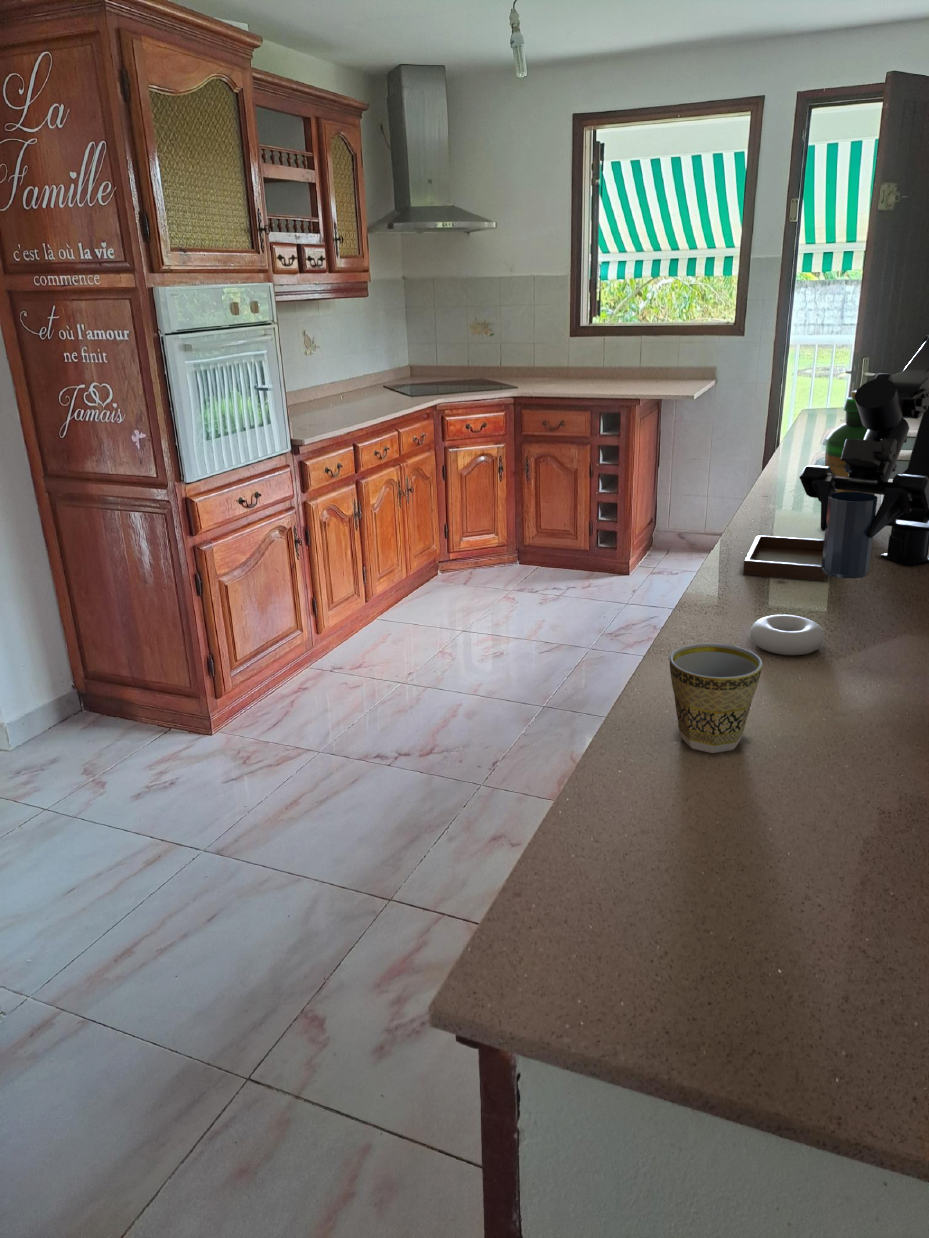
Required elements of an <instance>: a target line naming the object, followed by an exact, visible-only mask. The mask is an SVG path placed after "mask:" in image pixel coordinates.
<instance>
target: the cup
mask: <svg viewBox="0 0 929 1238" xmlns="http://www.w3.org/2000/svg"><path fill="white" fill-rule="evenodd" d="M877 506H878V496H877V495H876V494H875V495H873V494H869V493H862V492H837V493H832V494H830V495H829V498H828V508H827V518H826V527H825V531H824V537H823V540H824V547H823V557H822V569H821V571H822V572H823V573H824V574H826V576H829V577H833V578H837V579H838V578H839V579H860V578H864V577H867V576H868V575H869V572H870V563H871V556H872V548H873V547H872V546H873V538H874V536H873V537H872V538H869V536H868V532H869V529H870V526H871V524H872V522H873V520H874V518H875V516H876V514H877Z"/></svg>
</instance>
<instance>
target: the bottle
mask: <svg viewBox="0 0 929 1238" xmlns="http://www.w3.org/2000/svg"><path fill="white" fill-rule="evenodd" d="M856 391H857V389H855V390H851V391H850V393H851V394H850V395H851V396H849V397H847V398H846V399H845V403H844V406H843V409H842V410H843V411H844V412H845V423H842V424H841V425H839V426H837V427H836V428H834V429H833V430H831V432H830V433H829V434H828V435H827V437H826V438H825V452H824V453H825V454H824V456H825V458H824V459H825V460H824V466H827V467H830V468H831V471H832V473H833V474H834V475H835V476H841V477H848V475H849V472H845V469H844V467H845V464H846V462H844V461H841V456H842V452H843V448H844V445H845V441H846V439H859V440H864V437H865V435H866V432H867V430H868V429H867V428H865V427H864V426H863V424H862V421H861V418H860V414H859V411H858V408H857V404H856V401H855V393H856ZM837 492H854V491H849V490H840V489H838V490H837ZM837 492H835V493H837ZM869 494H871V493H869ZM873 495H875V496H876V494H873Z"/></svg>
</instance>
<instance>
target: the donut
mask: <svg viewBox="0 0 929 1238" xmlns="http://www.w3.org/2000/svg"><path fill="white" fill-rule="evenodd" d="M749 634H750V637H751V640H752V642H753V643H754V644H755V645H756V646H757V647H758V648H759V649H762V650H763V651H766V652H768V653H772V654H776V655H782V656H801V655H802V656H803V655H808V654H811V653H814V652H815V651H817V650H818V649H819V648H821V647H822V645H823V643H824V640H825V632H824V631H823V629H822V627H821V626H820V625H819V624H818V623H817V622H815V621H813V620H811V619H809V618H806V617H803V616H798V615H793V614H773V615H767V616H763V617H761V618H759V619H757V620H756V621H755V622H754V623H753V624H752V626H751V628H750V631H749Z"/></svg>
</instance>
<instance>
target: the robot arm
mask: <svg viewBox="0 0 929 1238" xmlns="http://www.w3.org/2000/svg"><path fill="white" fill-rule="evenodd" d="M856 390H857V391H856ZM856 390H855V391H856V393H855V401H856V404H857V408H858V411H859V414H860V418H861V421H862V424H863V426H864V427H865V428H867V429H868V430H867V432H866V435H865V437H864V440H859V439H846V441H845V445H844V448H843V452H842V456H841V461H844V462H846V464H845V467H844V469H845V472H849V475H848V477H841V476H835V475H834V474H833V473H832V471H831V468H830V467H827V466H825V465H815V464H808V465H806V466H805V467H803V468H802V470H801V471H800V472H801V473H800V475H799V476H798V477H799V480H800V483H801V485H802V487H803V491H804V492H805V495H806V496H808V497H809V498H813V499H817V500H818V502H819V503H820V530H821V531H822V532H825V527H826V518H827V508H828V498H829V495H830V494H832V493H835V492H837V490H838V489H840V490H849V491H854V492H862V493H871V494H875V495H879V496H883V498H882V501H881V504H880V505H879V508H878V510H877V511H876V515H875V518H874V520H873V522H872V524H871V526H870V529H869V532H868V536H869V538H872V537H873V538H874V537H875V536H876V535H877V534H879V532H881V531H882V530H883V529H884V528H885V527H891V529H890V534H889V537H888V544H887V550H886V551H887V552H885V553H881V554H880V557H881V558H884V559H886V560H890V561H893V562H895V563H898V564H901V565H905V566H913V565H918V564H924V563H929V334H926V335H925V336H924V338H923V342H922V345H921V346H920V348H919V349H918V351H917V352H915V354H914V356H913V357H912V358H911V360H910V361H909V362H908V363H907V365H906V366H905V367H904V369H903V370H902V371H900V372H897V373H894V374H892V373H877V374H876V376H875V378H874V379H871V380H869V381H866V382H865V383H864V384H862V385H860V387H859V388H856ZM919 418H920V422H919V425H918V429H917V432H916V435H915V439H914V442H913V446H912V449H911V453H910V456H909V459H908V463H907V467H906V469H905V470H904V471H902V473H901V474H895V476H894V477H893V478H892V481H889V480H890V478H891V476H892V474H893V472H894V473H895V472H896V470H897V468H898V465H897V461H898V458H899V456H900V453H901V451H902V448H903V446H904V445H905V444H906V443H907V442H908V434H909V431H910V425H909V423H908V421H907V420H906V419H910V420H911V419H912V420H914V419H915V420H916V419H917V420H918V419H919Z"/></svg>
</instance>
